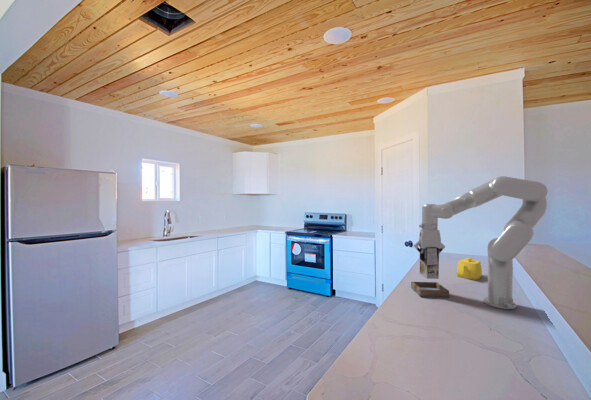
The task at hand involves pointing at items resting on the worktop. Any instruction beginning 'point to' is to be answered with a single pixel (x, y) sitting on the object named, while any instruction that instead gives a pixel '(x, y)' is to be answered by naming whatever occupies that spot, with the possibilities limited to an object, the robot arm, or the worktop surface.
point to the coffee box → (430, 263)
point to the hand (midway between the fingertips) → (429, 260)
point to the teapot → (469, 269)
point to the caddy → (430, 289)
